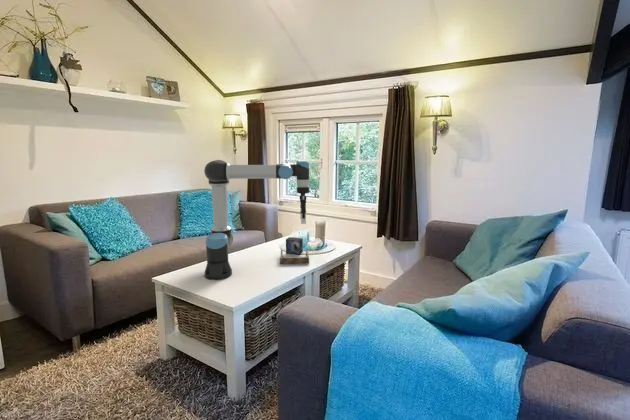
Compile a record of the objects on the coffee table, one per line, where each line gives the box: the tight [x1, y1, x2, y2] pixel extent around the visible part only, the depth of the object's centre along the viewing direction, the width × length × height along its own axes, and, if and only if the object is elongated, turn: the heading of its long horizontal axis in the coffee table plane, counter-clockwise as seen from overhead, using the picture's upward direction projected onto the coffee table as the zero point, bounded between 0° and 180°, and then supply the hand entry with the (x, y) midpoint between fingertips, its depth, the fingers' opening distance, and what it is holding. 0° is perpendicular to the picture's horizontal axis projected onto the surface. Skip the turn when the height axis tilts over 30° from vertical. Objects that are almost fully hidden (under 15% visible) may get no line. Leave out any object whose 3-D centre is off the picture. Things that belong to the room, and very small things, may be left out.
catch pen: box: [279, 248, 310, 265], centre depth 222 cm, size 18×18×4 cm
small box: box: [285, 236, 304, 256], centre depth 235 cm, size 11×6×10 cm, turn 73°
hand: (303, 221), depth 207 cm, fingers open, 13 cm apart
